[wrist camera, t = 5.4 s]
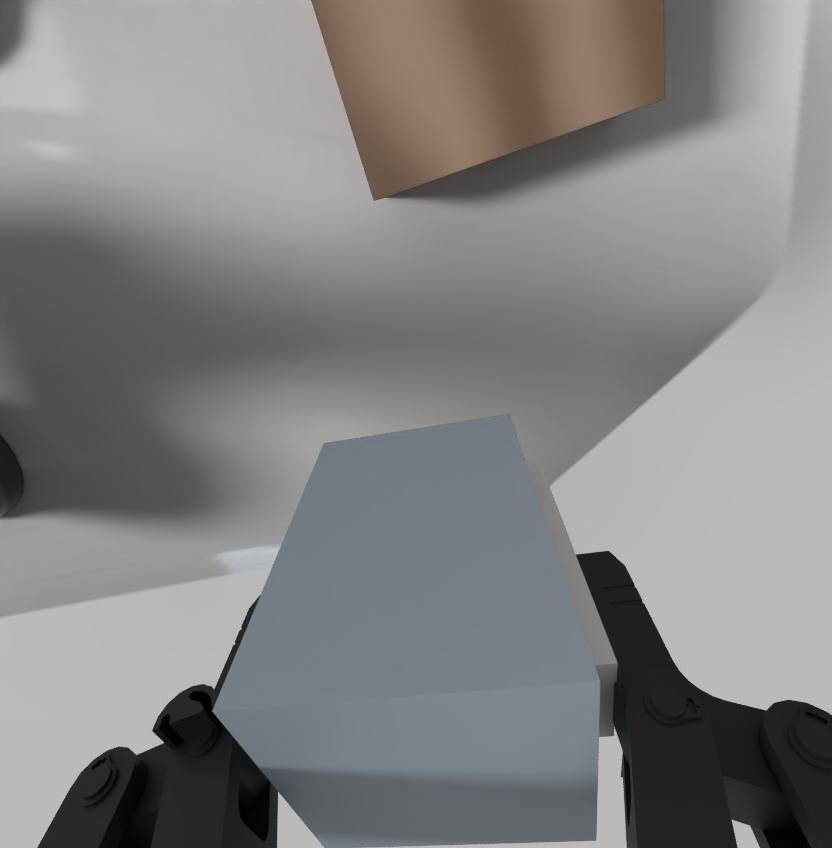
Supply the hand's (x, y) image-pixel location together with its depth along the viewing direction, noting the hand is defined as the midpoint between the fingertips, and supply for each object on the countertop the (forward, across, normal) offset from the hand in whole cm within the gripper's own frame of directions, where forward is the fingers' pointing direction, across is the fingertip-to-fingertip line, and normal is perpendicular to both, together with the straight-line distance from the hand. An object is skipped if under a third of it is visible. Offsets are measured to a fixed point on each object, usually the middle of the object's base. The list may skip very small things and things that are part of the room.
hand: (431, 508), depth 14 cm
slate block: (0, 0, 0) cm, 0 cm away
